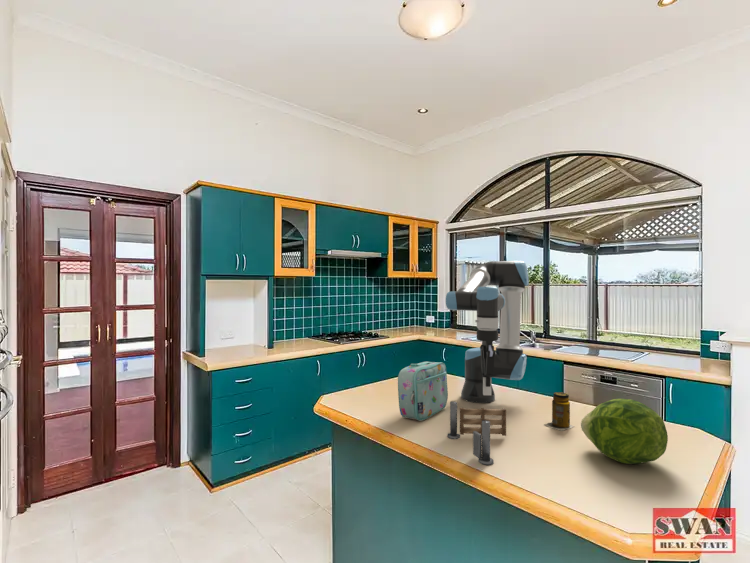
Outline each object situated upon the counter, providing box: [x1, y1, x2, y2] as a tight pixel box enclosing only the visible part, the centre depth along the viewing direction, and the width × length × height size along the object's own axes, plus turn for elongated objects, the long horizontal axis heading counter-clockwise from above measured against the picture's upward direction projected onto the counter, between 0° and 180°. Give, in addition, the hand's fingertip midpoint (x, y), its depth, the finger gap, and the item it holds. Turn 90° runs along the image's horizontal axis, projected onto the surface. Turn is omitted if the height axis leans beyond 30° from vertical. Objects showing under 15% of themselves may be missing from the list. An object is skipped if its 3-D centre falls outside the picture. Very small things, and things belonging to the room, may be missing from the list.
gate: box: [459, 407, 507, 437], centre depth 137 cm, size 16×1×9 cm, turn 87°
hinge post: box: [446, 400, 461, 440], centre depth 137 cm, size 4×4×12 cm
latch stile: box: [472, 420, 495, 466], centre depth 119 cm, size 4×6×12 cm
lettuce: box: [580, 398, 669, 465], centre depth 120 cm, size 19×23×18 cm
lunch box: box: [397, 361, 449, 422], centre depth 161 cm, size 27×10×21 cm, turn 143°
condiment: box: [543, 391, 575, 432], centre depth 148 cm, size 7×8×12 cm
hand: (487, 394), depth 142 cm, fingers closed
